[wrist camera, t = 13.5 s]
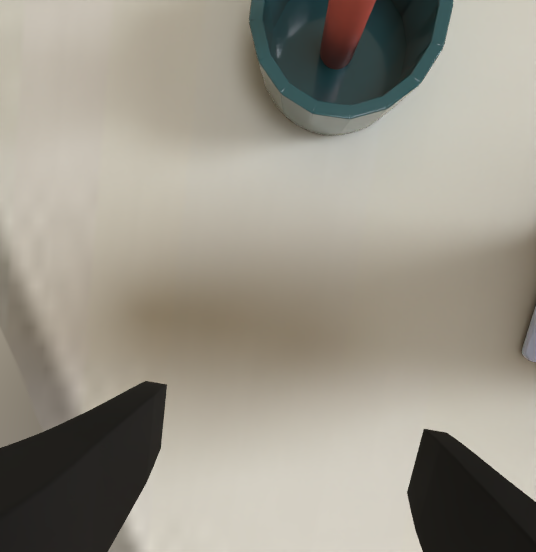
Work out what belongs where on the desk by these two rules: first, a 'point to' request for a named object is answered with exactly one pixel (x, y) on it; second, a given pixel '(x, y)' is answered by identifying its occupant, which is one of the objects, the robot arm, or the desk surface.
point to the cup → (358, 72)
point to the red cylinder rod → (343, 30)
